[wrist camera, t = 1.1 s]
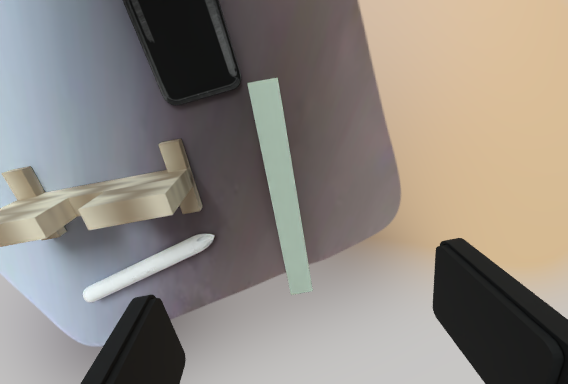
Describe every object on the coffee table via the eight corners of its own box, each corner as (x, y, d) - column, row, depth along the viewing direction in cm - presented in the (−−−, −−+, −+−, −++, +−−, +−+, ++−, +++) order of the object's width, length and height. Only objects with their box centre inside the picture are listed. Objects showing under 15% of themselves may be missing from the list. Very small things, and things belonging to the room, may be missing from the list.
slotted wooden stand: (49, 234, 31) (-17, 281, 24) (11, 169, 28) (-78, 200, 21) (202, 206, 31) (183, 244, 24) (181, 138, 28) (151, 157, 21)
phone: (181, -120, 20) (243, 86, 26) (185, -110, 21) (244, 86, 27) (84, -89, 21) (166, 108, 26) (92, -80, 22) (170, 107, 27)
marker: (211, 224, 33) (208, 234, 30) (220, 237, 33) (217, 248, 31) (89, 283, 34) (77, 296, 32) (100, 294, 35) (90, 308, 33)
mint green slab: (299, 233, 34) (312, 291, 24) (283, 236, 34) (291, 295, 24) (272, 79, 27) (277, 77, 17) (252, 83, 27) (247, 83, 17)
